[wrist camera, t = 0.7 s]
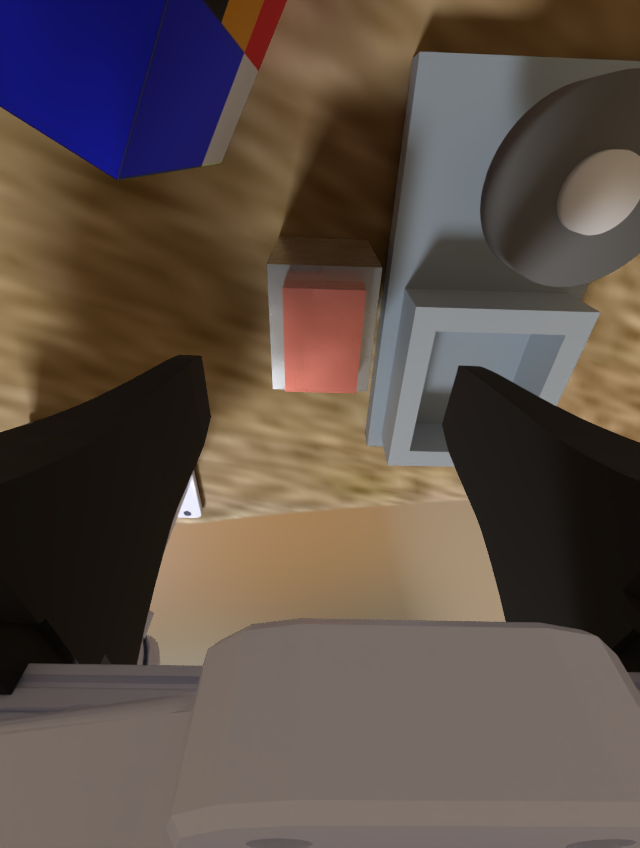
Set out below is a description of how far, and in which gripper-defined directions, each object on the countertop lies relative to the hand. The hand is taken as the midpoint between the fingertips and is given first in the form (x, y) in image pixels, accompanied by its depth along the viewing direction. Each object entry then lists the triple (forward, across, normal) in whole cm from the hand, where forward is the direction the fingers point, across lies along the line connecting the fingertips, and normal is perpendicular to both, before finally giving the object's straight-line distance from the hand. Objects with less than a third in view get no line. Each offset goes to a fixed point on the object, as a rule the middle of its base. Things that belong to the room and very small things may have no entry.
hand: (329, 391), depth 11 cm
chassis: (+9, -7, 0) cm, 12 cm away
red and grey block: (+10, 0, 0) cm, 10 cm away
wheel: (+5, -7, -5) cm, 10 cm away
